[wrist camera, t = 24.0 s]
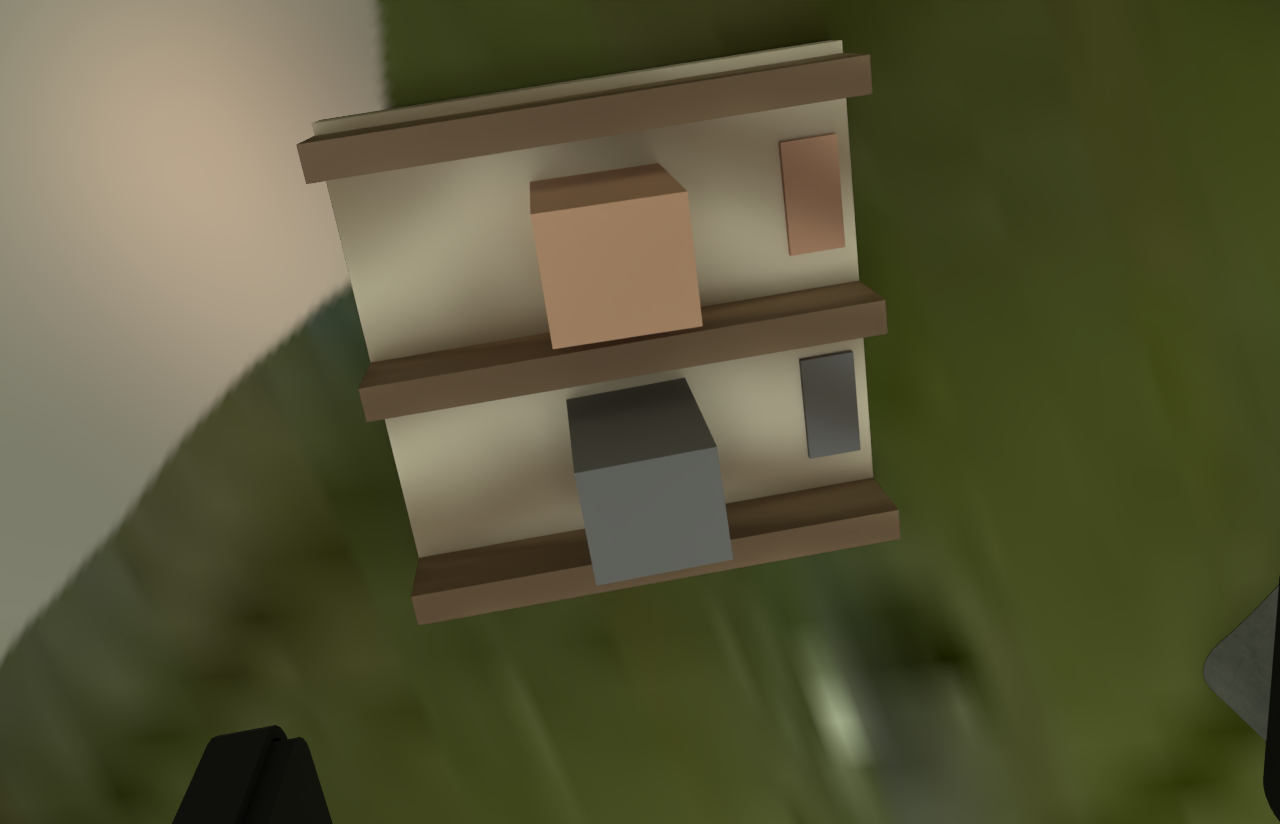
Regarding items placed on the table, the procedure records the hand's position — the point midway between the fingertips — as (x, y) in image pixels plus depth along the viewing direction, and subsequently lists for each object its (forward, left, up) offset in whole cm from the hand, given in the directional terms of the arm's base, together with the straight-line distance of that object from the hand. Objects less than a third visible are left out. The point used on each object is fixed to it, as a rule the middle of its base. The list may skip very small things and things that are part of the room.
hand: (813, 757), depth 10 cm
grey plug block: (-8, 0, -29) cm, 30 cm away
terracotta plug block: (0, 0, -29) cm, 29 cm away
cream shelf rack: (-4, 0, -30) cm, 31 cm away
